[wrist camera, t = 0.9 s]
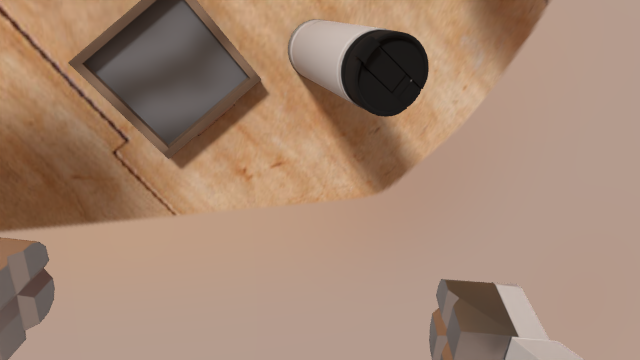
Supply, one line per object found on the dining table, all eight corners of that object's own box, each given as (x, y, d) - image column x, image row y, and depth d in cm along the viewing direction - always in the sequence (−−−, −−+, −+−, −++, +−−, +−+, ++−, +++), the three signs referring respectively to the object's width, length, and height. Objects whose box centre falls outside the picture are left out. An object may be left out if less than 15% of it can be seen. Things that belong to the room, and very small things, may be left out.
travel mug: (310, 4, 50) (393, 8, 32) (353, 45, 53) (451, 70, 35) (273, 51, 50) (334, 81, 33) (318, 89, 53) (396, 136, 36)
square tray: (72, 59, 45) (68, 62, 43) (172, -27, 45) (173, -28, 43) (170, 154, 51) (170, 161, 49) (259, 78, 51) (263, 81, 49)
